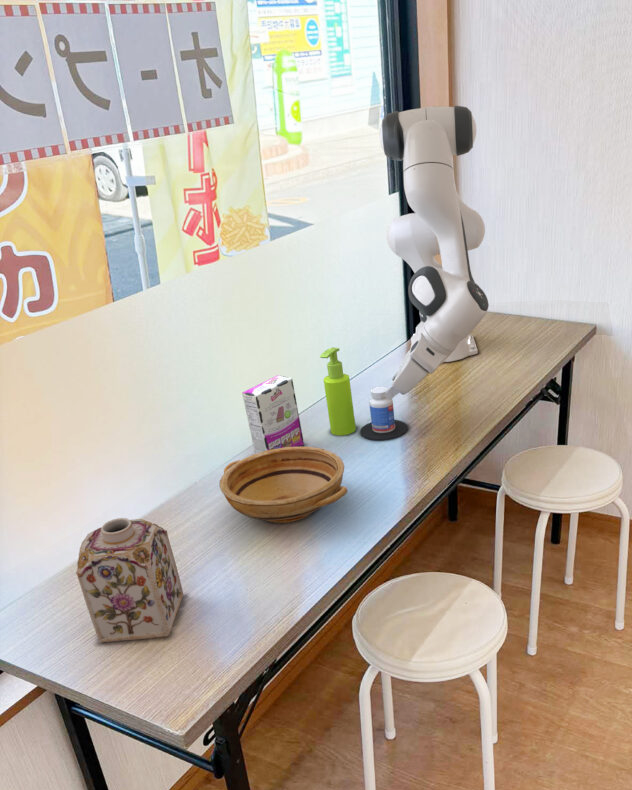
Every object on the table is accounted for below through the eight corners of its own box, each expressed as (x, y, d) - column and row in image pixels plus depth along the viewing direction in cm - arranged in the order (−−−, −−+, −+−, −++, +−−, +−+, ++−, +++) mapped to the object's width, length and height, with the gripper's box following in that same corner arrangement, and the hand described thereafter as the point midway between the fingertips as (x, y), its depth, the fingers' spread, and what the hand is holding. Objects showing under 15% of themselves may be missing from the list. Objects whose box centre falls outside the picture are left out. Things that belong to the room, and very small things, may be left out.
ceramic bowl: (192, 519, 168) (183, 484, 165) (274, 468, 185) (268, 435, 182) (305, 556, 153) (298, 518, 149) (384, 497, 170) (380, 461, 166)
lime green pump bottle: (323, 435, 199) (311, 353, 189) (339, 423, 204) (328, 343, 194) (345, 438, 196) (333, 356, 186) (360, 426, 201) (350, 345, 192)
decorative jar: (186, 595, 145) (161, 503, 137) (171, 637, 135) (144, 541, 126) (116, 601, 145) (88, 510, 137) (96, 644, 135) (64, 548, 126)
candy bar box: (289, 440, 198) (277, 374, 190) (304, 445, 195) (293, 377, 187) (254, 460, 190) (240, 391, 182) (269, 464, 187) (256, 395, 180)
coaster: (365, 421, 204) (365, 419, 204) (410, 420, 202) (410, 419, 202) (356, 441, 194) (355, 439, 194) (403, 440, 192) (403, 438, 192)
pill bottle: (395, 433, 195) (390, 393, 191) (371, 434, 196) (366, 395, 191) (395, 423, 200) (391, 384, 196) (373, 425, 201) (368, 386, 196)
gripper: (426, 321, 195) (388, 363, 201) (412, 352, 177) (371, 397, 184) (447, 339, 196) (409, 380, 202) (435, 372, 178) (394, 415, 185)
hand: (391, 388), depth 193 cm, fingers open, 8 cm apart
